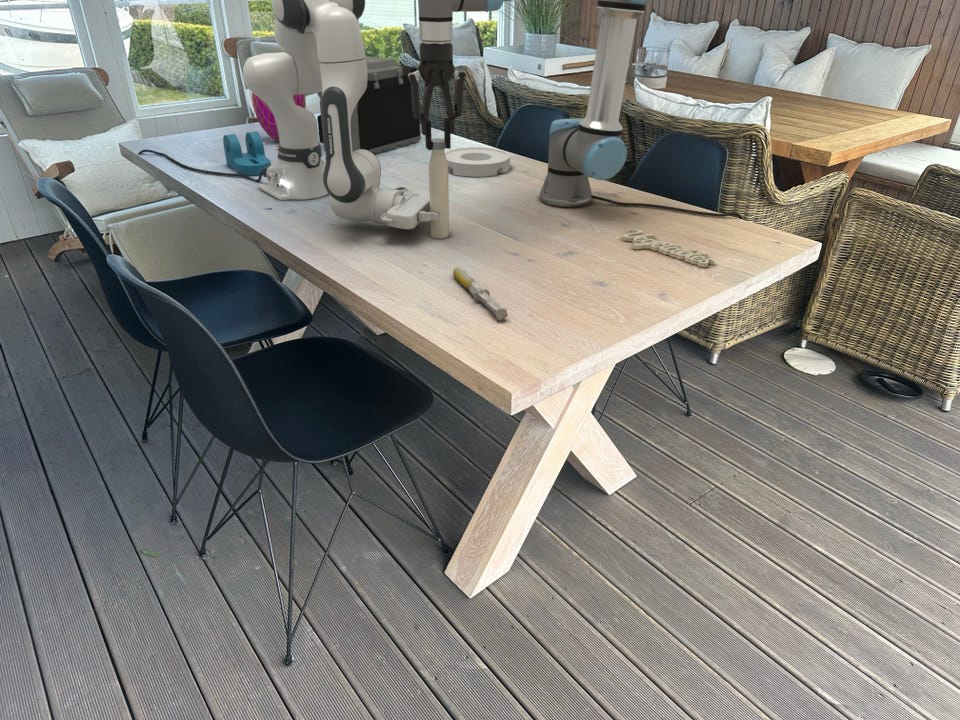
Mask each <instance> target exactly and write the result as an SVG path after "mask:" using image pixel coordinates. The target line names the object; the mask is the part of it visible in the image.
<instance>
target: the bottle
mask: <svg viewBox="0 0 960 720" xmlns="http://www.w3.org/2000/svg"><path fill="white" fill-rule="evenodd" d="M444 152H445V149H442V150H434V149H432V150H431V153H430V157H429V162H428V191H429V198H430V212H433V211H435V212H439V213H440V218H439V219H438V220H429V228H430V231H429V232H430V233H429V234H430V237H432V238H433V239H446V238H448V237H450V200H449V199H450V197H449V196H450V193H449V191H450V187H449V186H450V185H449V172H448V163H447V159H446V156H445V153H444Z"/></svg>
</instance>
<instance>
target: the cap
mask: <svg viewBox="0 0 960 720" xmlns="http://www.w3.org/2000/svg"><path fill="white" fill-rule="evenodd" d="M431 143H432V149H434V150H442V149H444V150H446V149H447V140H445V139H444V138H431Z"/></svg>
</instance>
